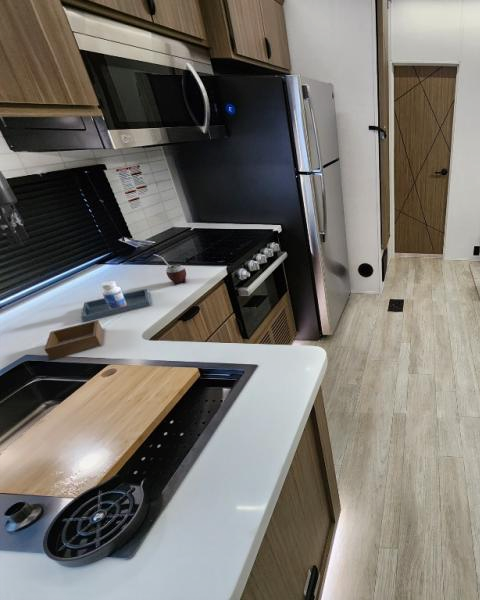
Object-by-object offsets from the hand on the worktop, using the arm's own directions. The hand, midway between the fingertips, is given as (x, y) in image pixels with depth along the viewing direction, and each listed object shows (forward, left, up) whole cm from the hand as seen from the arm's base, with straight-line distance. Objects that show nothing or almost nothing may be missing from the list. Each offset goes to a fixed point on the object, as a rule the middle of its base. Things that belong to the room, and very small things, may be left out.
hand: (21, 242), depth 100 cm
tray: (+14, +6, -30) cm, 34 cm away
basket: (+4, -17, -30) cm, 35 cm away
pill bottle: (+14, +6, -30) cm, 33 cm away
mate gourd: (+35, +17, -30) cm, 49 cm away
